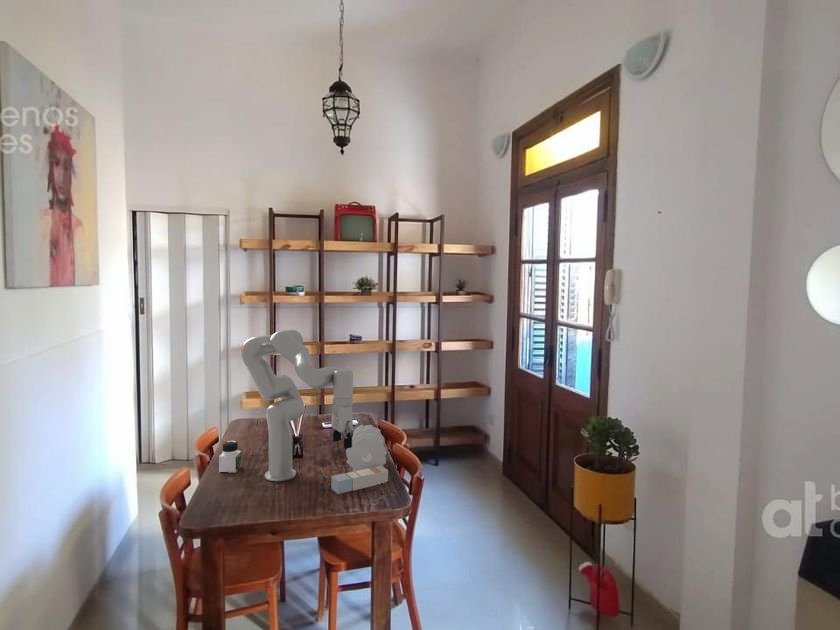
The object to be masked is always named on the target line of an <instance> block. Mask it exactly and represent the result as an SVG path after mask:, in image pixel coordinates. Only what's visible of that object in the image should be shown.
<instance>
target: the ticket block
mask: <svg viewBox="0 0 840 630" xmlns="http://www.w3.org/2000/svg"><path fill="white" fill-rule="evenodd" d="M346 474H347V475H348V476H350V477H351V478H352V491H357V490H361V489H366V488H369V487H373V486H378V485H382V484H381V483H383V484H385V483H384V482H387V481H388V482H389V470H388V469H387V468H385V466H383V467H382V466H377V467H371V468H368V469H363V470H359V471H350V472H346ZM388 482H387V483H388ZM377 484H378V485H377ZM352 491H351V492H352Z"/></svg>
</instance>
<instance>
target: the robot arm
mask: <svg viewBox="0 0 840 630" xmlns="http://www.w3.org/2000/svg"><path fill="white" fill-rule="evenodd" d="M303 342H304V339H303V336H302V334H301V332H299V331H298V330H296V329H286V330H280V331H276V332H275V333H273V334H269V335H260V336H254V337H250V338H249V339H247V340H245V342H244V343H243V344H242V346H241V347H242V348H241V359H242V361H243V363H244V365H245V367H246V369H247V370H248V371H249V373H250V376H251V378H252V380H253V382H254V384H255V387H256V389H257V390H258V393H259V395H260V397H261V398H262V399H263V400H264V401H268V402H270V401H274V400H278V399H281V400H278V401H275V402H273V403H271V404H270V405H269V406H268V407H267V409H266V412H265V417H266V422H267V429H268V470H267V471H266V472H265V473H264V479H265V480H268V481H271V482H284V481H288V480H292V479H294V478H295V477H296V476H297V470H295V469H294V468H293V431H292V428H291V426H290V423H289V422H292V421H294V420H298V419H299V418H301V417H302V416H303V415H304V414H305V403H304V400H303V398H302V396H301V394H300V392H299V390H298V387H297V385H296V384H295V382H294V380H293V379H292V377H290V376H288V375H286V374H280V375H276V374H275V373H274V371H273V368H272V366H271V365H270V363H268V361H266V359H264V358H263V357H265V356H272V355H277V354H279V355H281V356H282V357H283V358H285V359H286V360H287V361H288V362H290V363H291V364H292V365H293V367H294V371H295V373H296V375H297V376H298V377H297V378H298V379H300V380H301V381H302V382H303V383H304V384H306V385H307V386H309V387H310V388H313V389H315V390H320V389H324V388H327V387H331V386H333V387H332V388H333V391H332V402H333V403H332V411H331V422H330V423H331V427H332V428H331V429H332V431H333V432H332V436H333V437H332V441H333V442H334V443H335V442H339V441H342V433H343V436H344V438H343V448H344V449H345V450H347V448H351V447H352V438H353V432H354V430H355V428H354V426H353V423H354V421H353V420H354V419H353V405H354V404H353V403H354V402H353V401H354V400H353V399H354V396H353V395H354V372H353V370H351V369H348V368H339V367H336V366H333V365H331V366H326V367H320V368H318V369H317V368H315V367H314V366H313V365H312V364H311V363H309V361H308V359H309V356H310V349H309V348H308V347H307V346H306V345H304V344H303Z"/></svg>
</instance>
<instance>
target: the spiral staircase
mask: <svg viewBox="0 0 840 630" xmlns="http://www.w3.org/2000/svg"><path fill="white" fill-rule="evenodd" d="M385 442H386V440H385V437H384V435H382V433H381V429H379V428H378V427H377V428H376V427H375V426H373V424H369V425H363V424H360V425H358V426H357V428H354V432H353V438H352V447H351V448H347V449H345V457H346V458H347V460H346V462H345V463H346V464H348V465H349V466H350V467H351V468H352V470H351V472H353V471H359V470H363V469H368V468H371V467H377V466H382V467H385V466H384V465H386V464H387V459H386V458H387V456H386V455H387V454H388V450H387V448H386V447H385V444H384V443H385Z"/></svg>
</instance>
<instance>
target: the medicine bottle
mask: <svg viewBox="0 0 840 630" xmlns="http://www.w3.org/2000/svg"><path fill="white" fill-rule="evenodd" d="M238 445H239V444H238V442H237V441H235V440H228V441H225V442H223V443H222V453H221V454H220V455H219V456H218V473H220V472H228V473H237V472H238V471H239V469H240V468H241V467H242V450H239V447H238Z"/></svg>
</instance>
